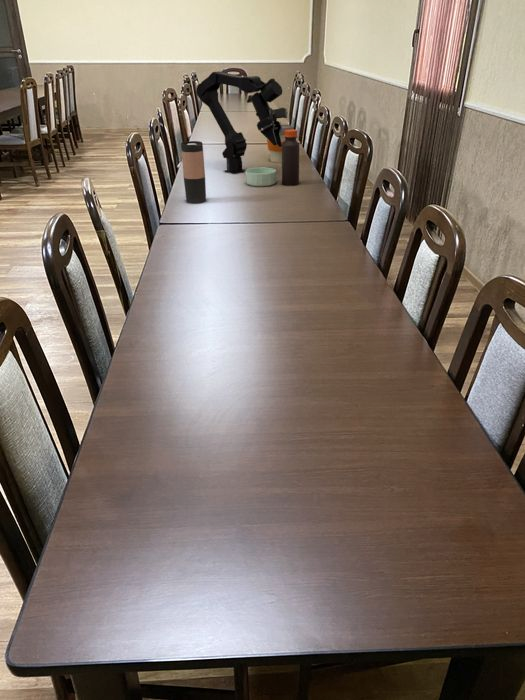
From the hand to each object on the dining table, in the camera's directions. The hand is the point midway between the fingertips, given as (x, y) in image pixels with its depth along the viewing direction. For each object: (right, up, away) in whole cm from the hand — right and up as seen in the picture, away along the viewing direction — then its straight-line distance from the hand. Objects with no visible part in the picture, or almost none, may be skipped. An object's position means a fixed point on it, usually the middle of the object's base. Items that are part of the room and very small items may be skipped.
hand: (278, 145), depth 217 cm
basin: (-7, -15, 0) cm, 17 cm away
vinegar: (+5, -16, -1) cm, 17 cm away
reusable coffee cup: (+2, +7, +38) cm, 39 cm away
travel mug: (-31, -28, -21) cm, 46 cm away
